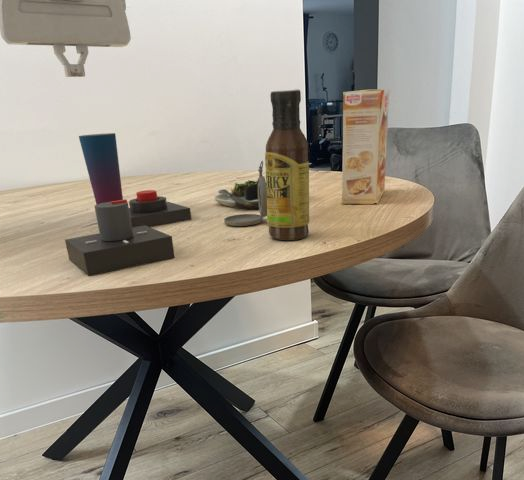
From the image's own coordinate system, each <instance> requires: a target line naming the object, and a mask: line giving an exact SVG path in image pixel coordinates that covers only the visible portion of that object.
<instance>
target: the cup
mask: <svg viewBox="0 0 524 480" xmlns="http://www.w3.org/2000/svg"><path fill="white" fill-rule="evenodd" d="M116 135H117V134H116V132H107V133H93V134H92V133H91V134H83V135H79V136H78V139H79V143H80V147H81V150H82V151H81V152H82V154H83V158H84V162H85V166H86V170H87V173H88V177H89V182H90V185H91V189H92V193H93V196H94V201H95V205H97V204H100V203H105V202H111V201H118V200H124V199H123V198H124V197H123V188H122V179H121V171H120V164H119V155H118V154H119V153H118V145H117V138H116V137H117V136H116Z"/></svg>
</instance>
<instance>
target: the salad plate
mask: <svg viewBox="0 0 524 480" xmlns="http://www.w3.org/2000/svg"><path fill="white" fill-rule="evenodd" d="M217 192H218V194H217V195H215V196H214V202H216V203H218V204H220V205H222V206H224V207H229V208H235V209H240V210H249V211H254V210H255V211H256V210H257V211H259V206H258V195H257V180H256V181H254V180H250V179H247V181H245V182H243V183H238V182H234V186H233V187H231V188H230V192H229V191H228V190H227V189H219V190H218V191H217Z"/></svg>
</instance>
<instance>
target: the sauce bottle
mask: <svg viewBox="0 0 524 480" xmlns="http://www.w3.org/2000/svg"><path fill="white" fill-rule="evenodd" d="M269 96H270V103H271V107H272V115H271V116H272V123H271V124H272V131H271V134H270V135H269V137H268V139H267V141H266V144H265V153H264V161H265V162H264V163H265V164H264V165H265V180H266V189H267V216H266V218H267V219H266V220H267V221H266V222H267V225H268V235H269V236H270V237H271V238H272V239H274V240H280V241H298V240H302V239H305V238H307V237H308V236H309V224H310V161H309V143H308V139H307V137H306V136H305V134H304V133H303V131H302V129H301V119H300V104H301V101H302V98H301V97H302V93H301V90H300V89H299V88H297V89H296V88H295V89H291V90H290V89H288V90H273V91H271V92H270V95H269Z"/></svg>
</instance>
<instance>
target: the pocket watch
mask: <svg viewBox="0 0 524 480" xmlns="http://www.w3.org/2000/svg"><path fill="white" fill-rule="evenodd" d="M263 168H264V160H261V161H260V163H259V166H258V169H257V171H258V174H259V175H258V177H257V180H256V181H257V195H258V206H259V210H258V212H259V214H257V213H243V214H242V213H241V214H233V215H230V216H227V217H225V218H224V219H223V223H224V224H225V225H227V226H231V227H247V226H256V225H257V224H260V223H262V222H263V219H264V218H265V217H266V218H267V189H266V176H263V171H264V169H263Z"/></svg>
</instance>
